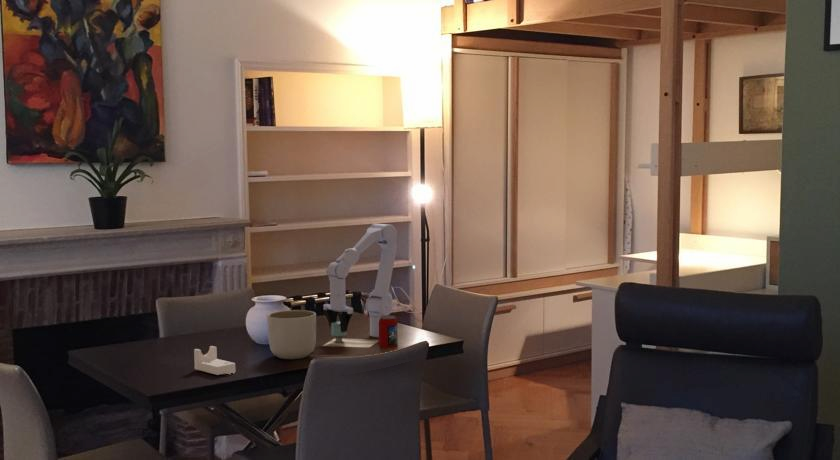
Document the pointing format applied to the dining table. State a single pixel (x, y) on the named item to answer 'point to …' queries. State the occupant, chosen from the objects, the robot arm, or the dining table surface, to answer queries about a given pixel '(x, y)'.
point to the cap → (336, 329)
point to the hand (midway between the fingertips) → (338, 330)
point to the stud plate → (351, 342)
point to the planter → (292, 333)
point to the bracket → (212, 362)
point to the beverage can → (388, 332)
